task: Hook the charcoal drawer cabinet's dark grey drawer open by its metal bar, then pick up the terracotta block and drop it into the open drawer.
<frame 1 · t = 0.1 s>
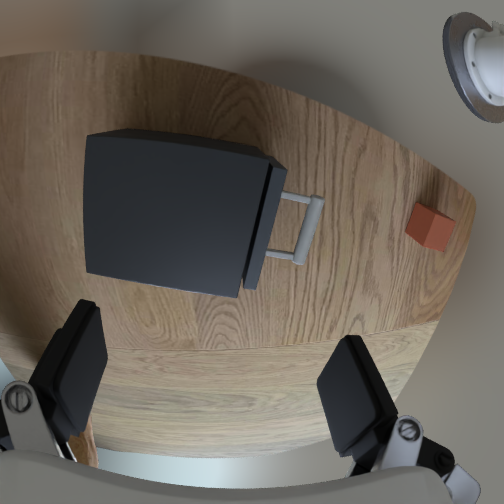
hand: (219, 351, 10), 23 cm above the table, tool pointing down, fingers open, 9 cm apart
drawer cabinet: (180, 190, 30), on the table
block: (421, 220, 34), on the table
dark grey drawer: (221, 211, 26), point 5 cm above the table, slide at 0.5 cm
bowl: (68, 382, 45), on the table
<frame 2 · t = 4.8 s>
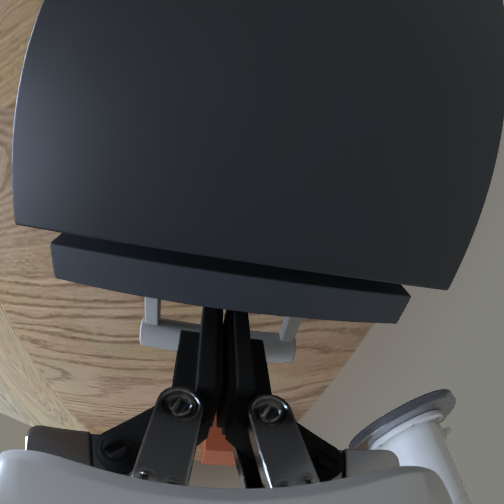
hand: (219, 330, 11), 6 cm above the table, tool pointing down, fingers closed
drawer cabinet: (268, 50, 12), on the table
block: (225, 422, 26), on the table
dark grey drawer: (255, 143, 9), point 5 cm above the table, slide at 0.8 cm, touching gripper
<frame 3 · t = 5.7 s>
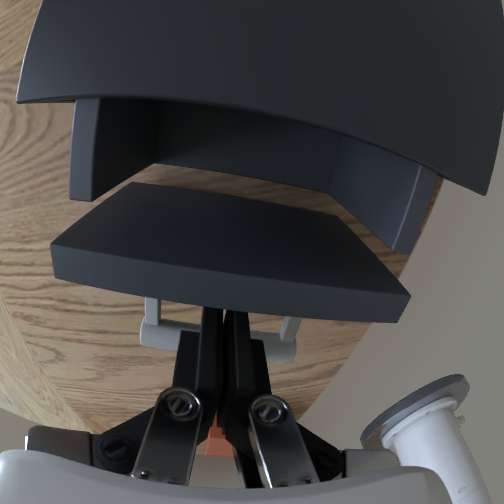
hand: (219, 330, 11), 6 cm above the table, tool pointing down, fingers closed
drawer cabinet: (278, 5, 10), on the table
block: (231, 409, 24), on the table
dark grey drawer: (255, 143, 9), point 5 cm above the table, slide at 4.0 cm, touching gripper
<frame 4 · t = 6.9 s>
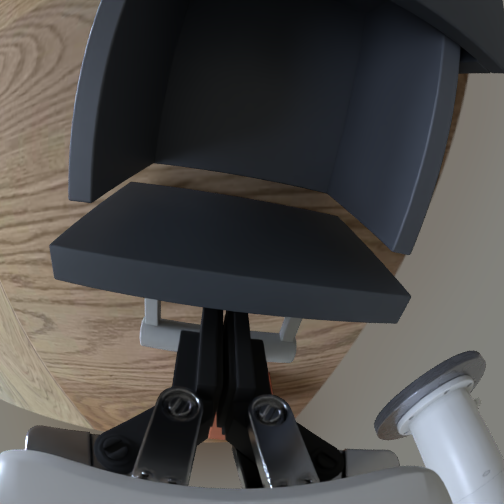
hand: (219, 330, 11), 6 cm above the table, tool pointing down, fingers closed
dark grey drawer: (255, 143, 9), point 5 cm above the table, slide at 8.2 cm, touching gripper
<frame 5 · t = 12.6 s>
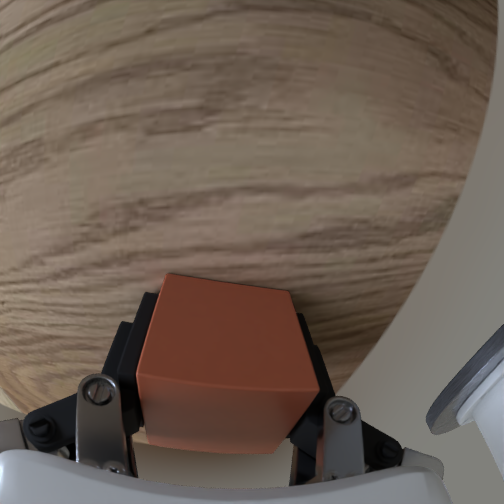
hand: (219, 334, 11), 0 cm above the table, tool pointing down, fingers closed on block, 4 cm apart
block: (219, 328, 11), on the table, touching gripper
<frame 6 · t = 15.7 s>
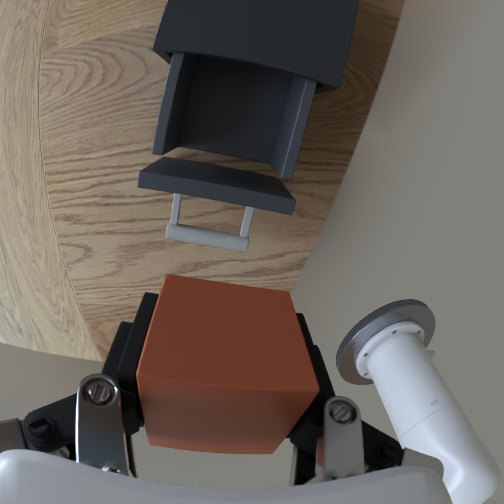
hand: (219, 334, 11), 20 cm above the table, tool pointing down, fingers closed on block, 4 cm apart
drawer cabinet: (258, 19, 20), on the table
block: (219, 328, 11), point 19 cm above the table, touching gripper
dark grey drawer: (227, 137, 21), point 5 cm above the table, slide at 8.7 cm
when the fingers open (12 cm above the table, at t = 18.8 s): block drops 10 cm, resting on dark grey drawer.
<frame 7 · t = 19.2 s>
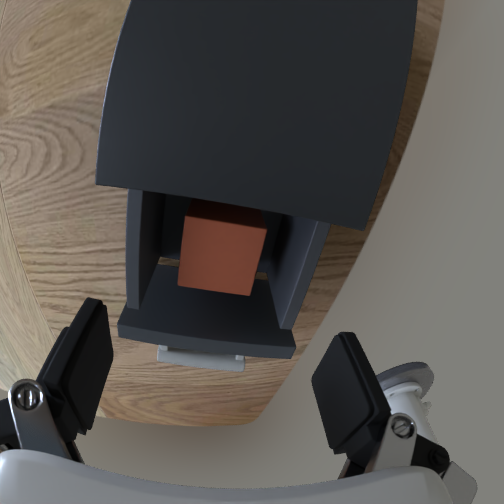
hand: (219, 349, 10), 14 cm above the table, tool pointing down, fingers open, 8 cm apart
drawer cabinet: (252, 73, 17), on the table
block: (220, 228, 20), point 2 cm above the table, touching dark grey drawer
dark grey drawer: (216, 263, 18), point 5 cm above the table, slide at 8.7 cm, touching block
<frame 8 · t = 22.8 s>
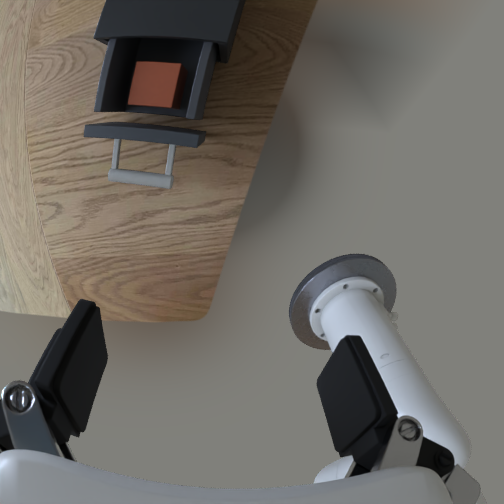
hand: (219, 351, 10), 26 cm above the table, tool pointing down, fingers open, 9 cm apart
drawer cabinet: (189, 7, 22), on the table
block: (163, 88, 25), point 2 cm above the table, touching dark grey drawer
dark grey drawer: (154, 97, 23), point 5 cm above the table, slide at 8.7 cm, touching block
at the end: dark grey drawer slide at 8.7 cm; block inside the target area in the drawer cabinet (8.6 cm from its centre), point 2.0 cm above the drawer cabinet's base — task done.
